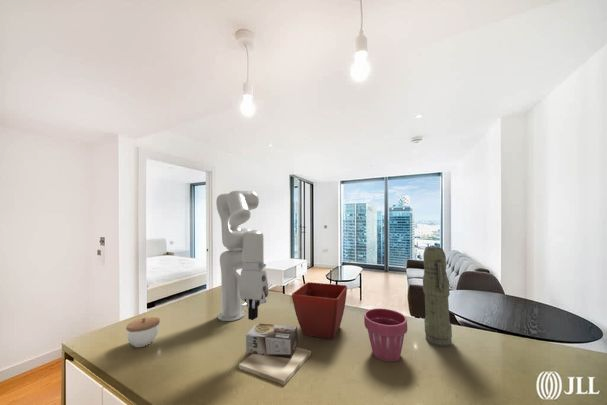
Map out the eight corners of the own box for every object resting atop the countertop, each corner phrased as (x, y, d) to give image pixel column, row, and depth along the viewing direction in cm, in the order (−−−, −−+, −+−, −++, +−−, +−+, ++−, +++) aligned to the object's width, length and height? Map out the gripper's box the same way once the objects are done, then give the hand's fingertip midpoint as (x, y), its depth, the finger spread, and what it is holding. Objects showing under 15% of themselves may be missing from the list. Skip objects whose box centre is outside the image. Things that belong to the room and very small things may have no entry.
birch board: (270, 343, 90) (270, 339, 90) (310, 354, 82) (310, 350, 82) (238, 368, 75) (238, 364, 75) (284, 385, 67) (284, 380, 67)
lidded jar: (165, 338, 95) (166, 314, 95) (139, 353, 85) (140, 325, 85) (146, 334, 98) (146, 311, 99) (118, 348, 88) (119, 322, 89)
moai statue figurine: (442, 333, 96) (437, 245, 98) (459, 349, 84) (454, 249, 87) (419, 333, 96) (415, 245, 99) (434, 349, 85) (429, 249, 87)
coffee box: (245, 353, 81) (291, 359, 78) (245, 334, 82) (290, 339, 78) (257, 339, 90) (298, 344, 86) (256, 322, 90) (297, 326, 87)
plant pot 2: (410, 370, 73) (408, 327, 74) (363, 361, 78) (361, 321, 79) (407, 347, 86) (405, 310, 87) (367, 340, 91) (366, 306, 92)
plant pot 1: (291, 337, 95) (290, 293, 96) (308, 318, 112) (307, 281, 114) (338, 346, 88) (337, 299, 89) (348, 324, 105) (347, 285, 106)
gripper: (276, 265, 86) (276, 318, 85) (244, 262, 93) (244, 311, 92) (263, 269, 79) (263, 326, 78) (230, 266, 86) (229, 318, 85)
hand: (253, 318), depth 85 cm, fingers closed
